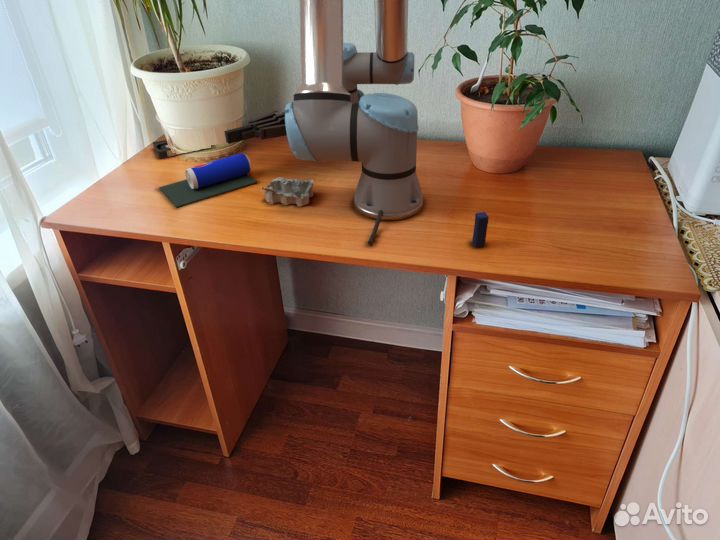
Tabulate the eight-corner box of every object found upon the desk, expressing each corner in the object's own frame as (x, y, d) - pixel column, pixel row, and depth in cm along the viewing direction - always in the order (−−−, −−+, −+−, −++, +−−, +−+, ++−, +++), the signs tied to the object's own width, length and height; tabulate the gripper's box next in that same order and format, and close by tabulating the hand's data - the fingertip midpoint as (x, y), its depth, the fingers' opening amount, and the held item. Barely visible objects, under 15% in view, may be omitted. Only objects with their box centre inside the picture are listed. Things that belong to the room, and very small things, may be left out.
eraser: (482, 241, 103) (485, 210, 99) (485, 247, 101) (489, 216, 97) (471, 242, 103) (474, 211, 99) (474, 248, 101) (478, 217, 97)
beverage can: (245, 149, 127) (186, 165, 120) (254, 168, 127) (195, 185, 120) (241, 157, 132) (183, 173, 125) (249, 175, 132) (192, 193, 125)
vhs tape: (159, 159, 140) (157, 152, 139) (154, 149, 146) (152, 142, 145) (212, 148, 145) (210, 141, 144) (205, 139, 151) (203, 132, 150)
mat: (236, 166, 135) (235, 165, 134) (257, 183, 127) (256, 181, 126) (159, 188, 125) (159, 187, 125) (176, 207, 117) (176, 206, 117)
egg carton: (261, 204, 118) (259, 187, 116) (274, 189, 124) (272, 173, 122) (306, 208, 116) (304, 191, 113) (317, 193, 122) (315, 177, 119)
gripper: (326, 137, 132) (240, 161, 121) (300, 122, 141) (218, 144, 130) (324, 107, 127) (235, 129, 117) (298, 94, 136) (212, 114, 125)
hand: (226, 137), depth 123 cm, fingers closed
